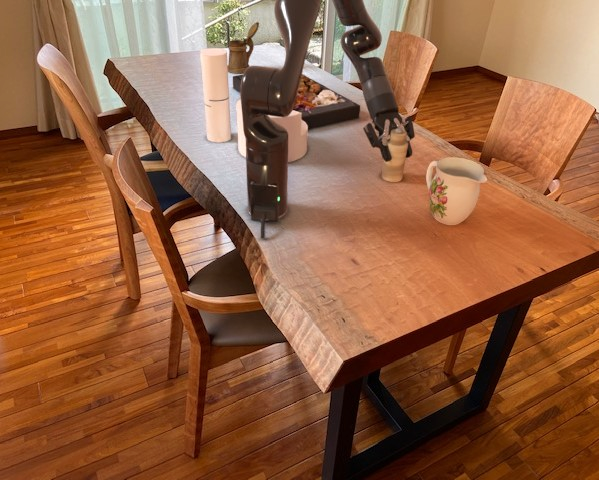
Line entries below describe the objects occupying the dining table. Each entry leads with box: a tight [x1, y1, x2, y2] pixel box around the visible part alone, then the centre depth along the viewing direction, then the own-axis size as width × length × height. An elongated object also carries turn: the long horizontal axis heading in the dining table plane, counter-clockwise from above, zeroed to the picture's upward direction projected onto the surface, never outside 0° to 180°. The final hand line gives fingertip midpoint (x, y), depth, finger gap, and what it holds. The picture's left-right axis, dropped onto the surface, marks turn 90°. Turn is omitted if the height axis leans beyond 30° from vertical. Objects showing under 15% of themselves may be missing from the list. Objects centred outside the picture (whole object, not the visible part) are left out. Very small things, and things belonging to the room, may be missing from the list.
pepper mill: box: [380, 127, 408, 183], centre depth 129 cm, size 6×6×14 cm
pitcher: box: [425, 156, 488, 226], centre depth 114 cm, size 11×18×14 cm, turn 24°
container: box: [235, 97, 309, 163], centre depth 141 cm, size 20×20×13 cm
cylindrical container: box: [199, 47, 232, 144], centre depth 142 cm, size 7×7×25 cm
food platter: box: [232, 73, 361, 131], centre depth 172 cm, size 45×25×10 cm, turn 32°
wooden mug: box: [227, 21, 260, 74], centre depth 198 cm, size 9×14×18 cm, turn 112°
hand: (399, 158), depth 128 cm, fingers closed on pepper mill, 5 cm apart
